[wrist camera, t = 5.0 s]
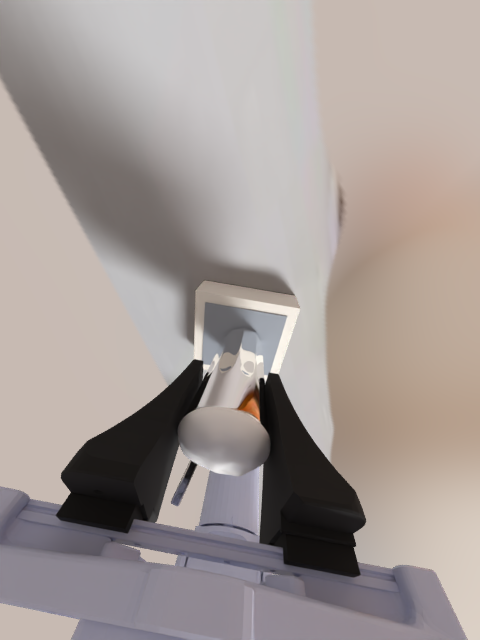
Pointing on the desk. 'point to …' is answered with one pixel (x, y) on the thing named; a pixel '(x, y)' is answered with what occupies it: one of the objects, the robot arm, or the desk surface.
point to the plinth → (243, 320)
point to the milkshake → (228, 412)
